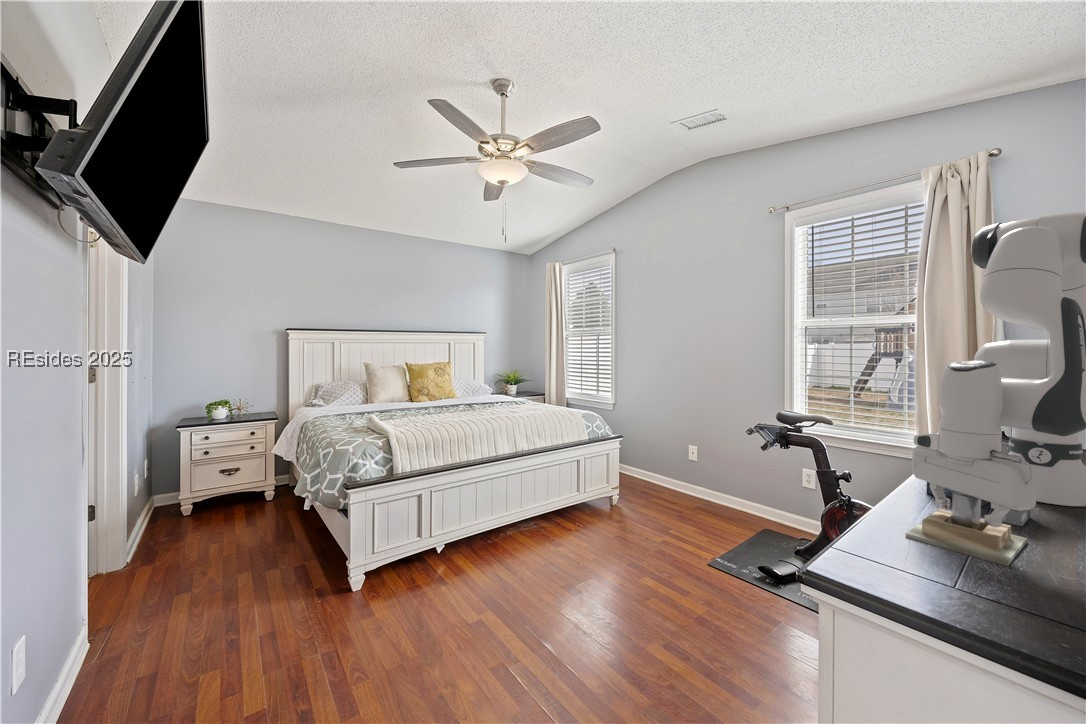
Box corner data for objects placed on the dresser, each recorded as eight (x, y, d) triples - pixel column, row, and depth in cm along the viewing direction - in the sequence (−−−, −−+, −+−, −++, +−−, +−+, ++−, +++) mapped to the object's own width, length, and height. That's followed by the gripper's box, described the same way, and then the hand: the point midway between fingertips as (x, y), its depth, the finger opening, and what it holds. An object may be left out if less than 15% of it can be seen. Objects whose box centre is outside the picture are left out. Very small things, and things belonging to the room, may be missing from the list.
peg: (964, 530, 88) (965, 491, 87) (986, 539, 84) (987, 498, 83) (945, 531, 87) (946, 491, 87) (966, 540, 83) (967, 498, 83)
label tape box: (1022, 527, 91) (1024, 468, 91) (994, 520, 94) (996, 464, 94) (1031, 517, 96) (1032, 462, 96) (1004, 512, 99) (1006, 458, 99)
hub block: (932, 518, 96) (932, 503, 96) (1026, 542, 84) (1027, 525, 84) (905, 536, 87) (906, 520, 87) (1007, 566, 75) (1008, 547, 75)
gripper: (1049, 458, 75) (1046, 538, 75) (933, 434, 95) (931, 497, 95) (1015, 459, 74) (1012, 540, 75) (906, 434, 95) (904, 498, 95)
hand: (966, 515), depth 85 cm, fingers open, 8 cm apart
